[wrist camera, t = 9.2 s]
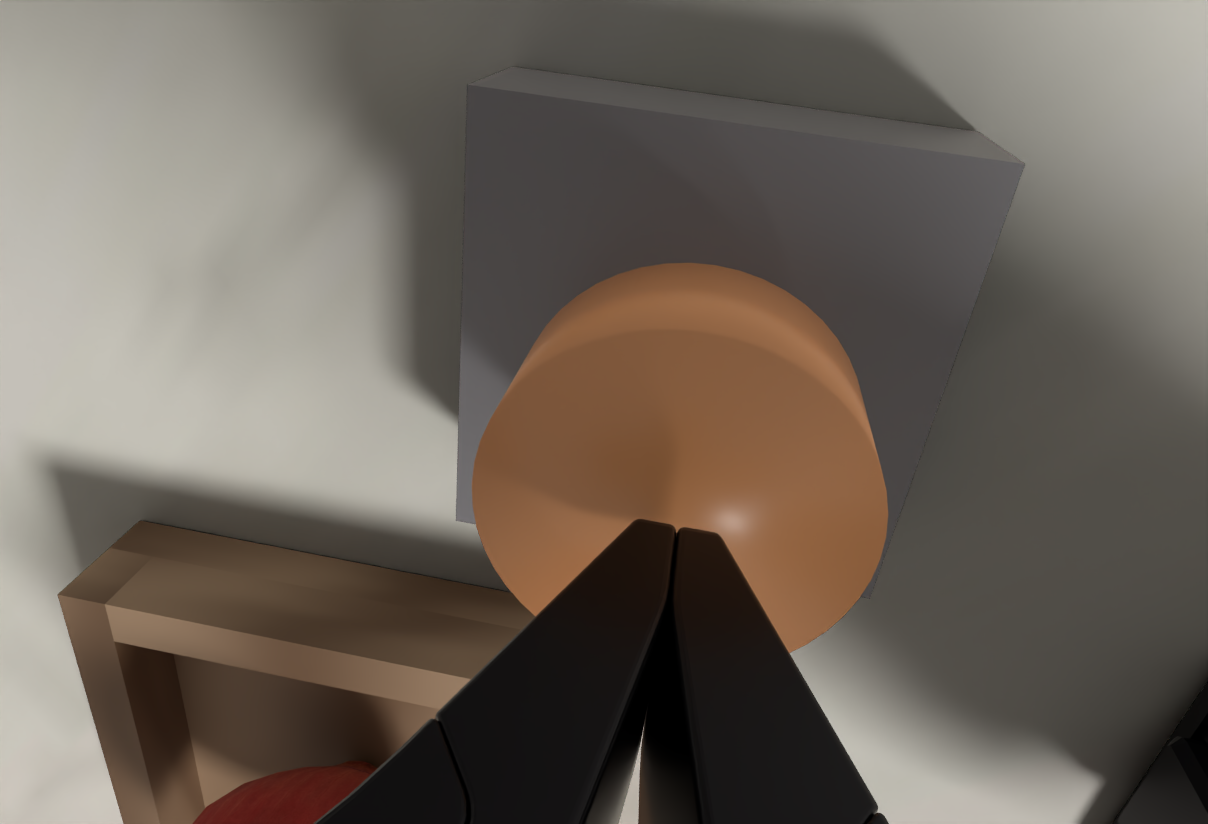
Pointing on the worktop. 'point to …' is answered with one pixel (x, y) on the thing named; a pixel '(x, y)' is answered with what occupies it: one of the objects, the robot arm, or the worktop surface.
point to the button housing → (726, 231)
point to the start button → (687, 442)
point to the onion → (288, 795)
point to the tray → (262, 661)
